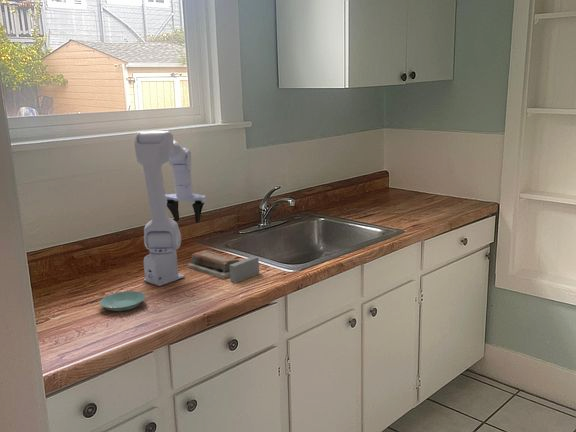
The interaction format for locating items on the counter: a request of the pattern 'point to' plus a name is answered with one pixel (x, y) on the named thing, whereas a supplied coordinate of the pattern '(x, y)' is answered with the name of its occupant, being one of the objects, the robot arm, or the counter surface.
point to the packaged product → (212, 263)
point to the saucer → (122, 300)
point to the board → (244, 269)
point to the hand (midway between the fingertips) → (187, 221)
